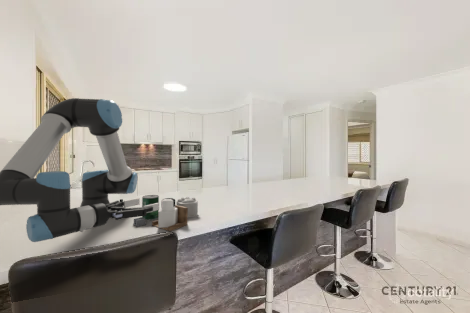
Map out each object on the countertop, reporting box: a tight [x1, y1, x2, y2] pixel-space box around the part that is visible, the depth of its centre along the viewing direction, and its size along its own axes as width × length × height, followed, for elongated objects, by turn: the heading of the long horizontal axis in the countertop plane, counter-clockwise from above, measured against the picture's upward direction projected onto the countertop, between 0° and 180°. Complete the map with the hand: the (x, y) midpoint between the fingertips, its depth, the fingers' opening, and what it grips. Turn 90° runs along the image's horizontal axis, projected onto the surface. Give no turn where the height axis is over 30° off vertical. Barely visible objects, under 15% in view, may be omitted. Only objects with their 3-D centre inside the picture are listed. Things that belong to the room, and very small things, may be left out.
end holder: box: [151, 204, 189, 232], centre depth 98 cm, size 12×10×8 cm
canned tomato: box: [141, 194, 160, 221], centre depth 109 cm, size 8×8×11 cm
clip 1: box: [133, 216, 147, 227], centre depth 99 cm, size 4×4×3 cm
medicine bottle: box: [157, 197, 178, 229], centre depth 97 cm, size 7×7×12 cm
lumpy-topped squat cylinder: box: [175, 196, 199, 218], centre depth 117 cm, size 10×13×9 cm
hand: (148, 203), depth 89 cm, fingers open, 13 cm apart
